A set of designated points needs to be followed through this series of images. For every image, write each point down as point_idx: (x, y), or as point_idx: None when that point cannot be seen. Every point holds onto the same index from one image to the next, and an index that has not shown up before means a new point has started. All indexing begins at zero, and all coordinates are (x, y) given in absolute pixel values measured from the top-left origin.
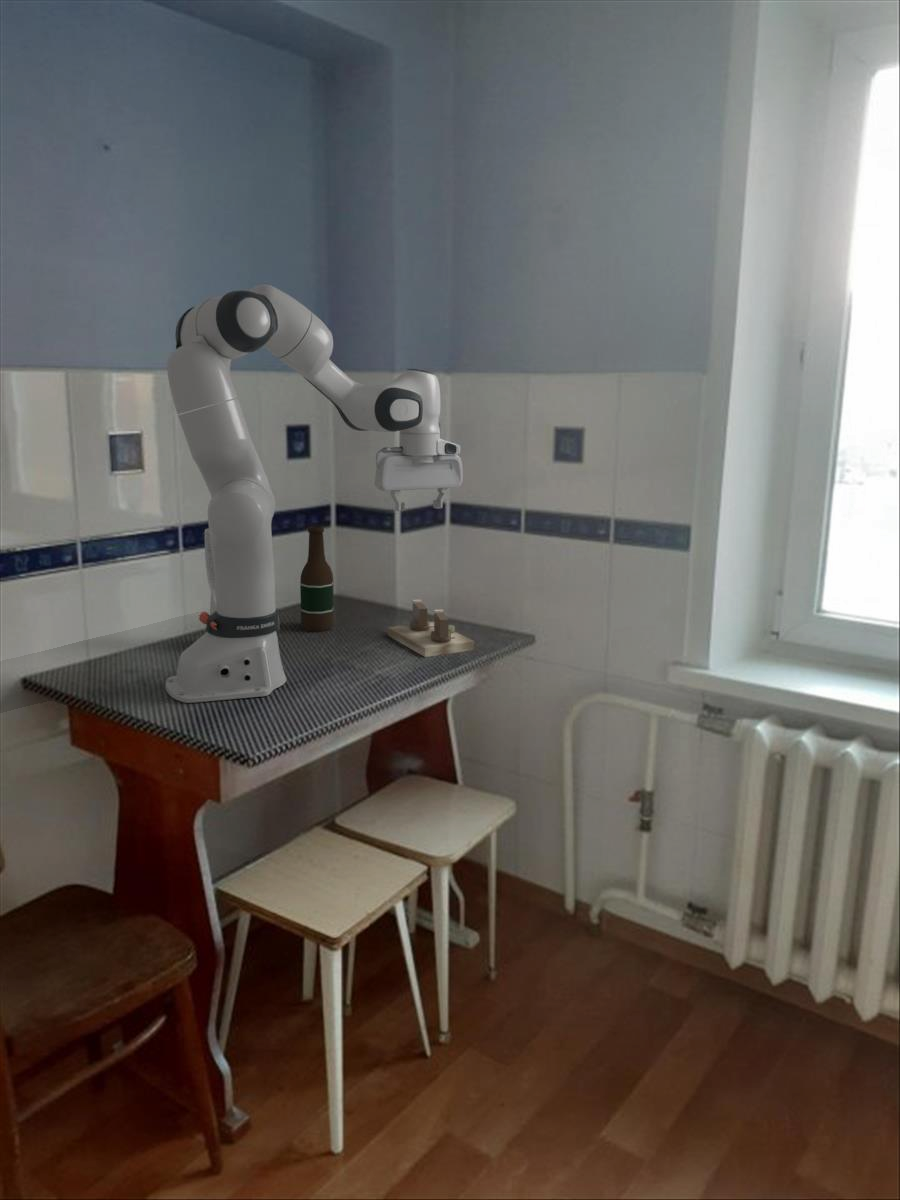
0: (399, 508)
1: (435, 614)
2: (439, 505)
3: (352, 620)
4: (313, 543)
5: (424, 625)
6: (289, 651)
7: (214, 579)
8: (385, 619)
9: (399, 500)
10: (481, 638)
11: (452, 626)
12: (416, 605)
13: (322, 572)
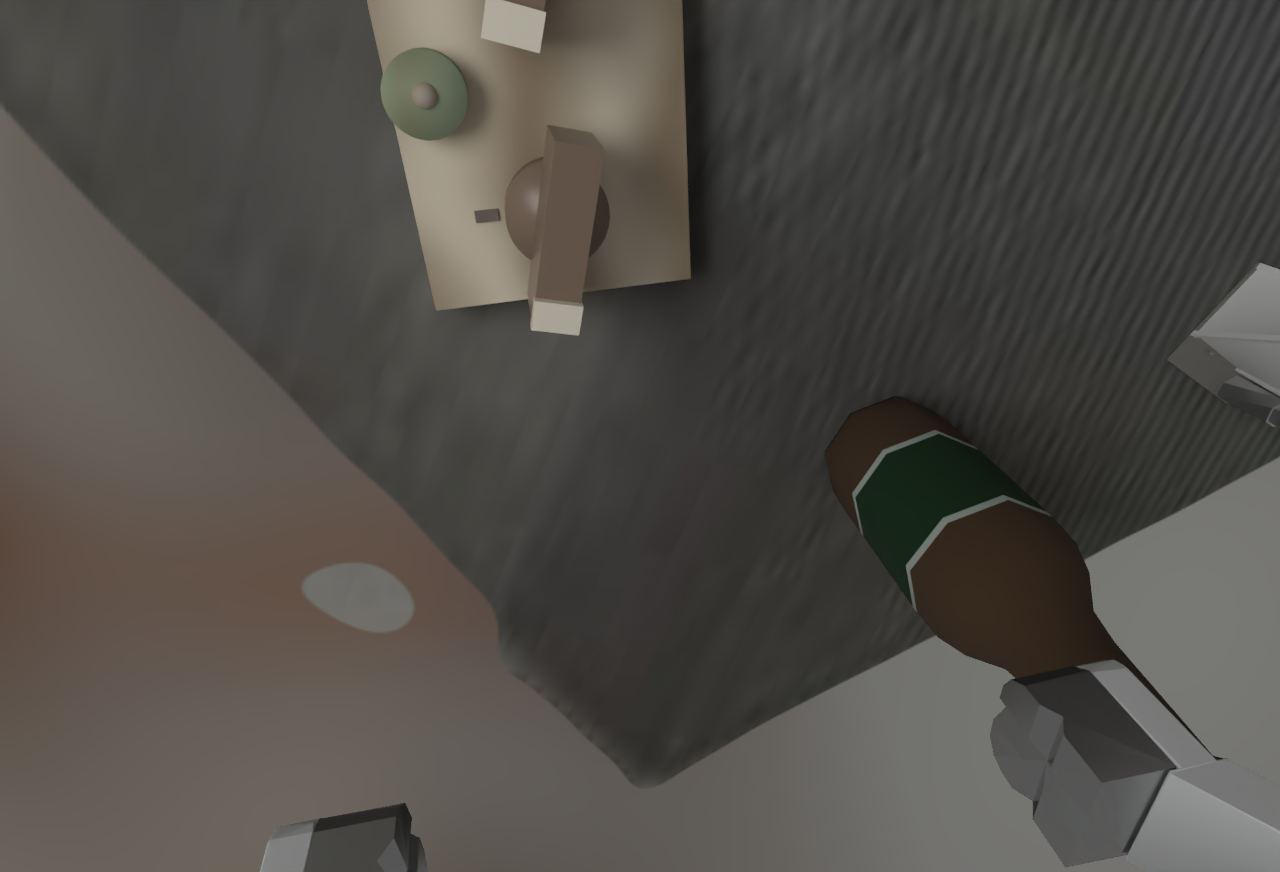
0: (1130, 682)
1: (544, 3)
2: (332, 858)
3: (721, 509)
4: (1161, 701)
5: (562, 128)
6: (1125, 183)
7: None
8: (596, 494)
9: (1256, 805)
10: (220, 48)
11: (395, 87)
12: (589, 241)
13: (1031, 554)
